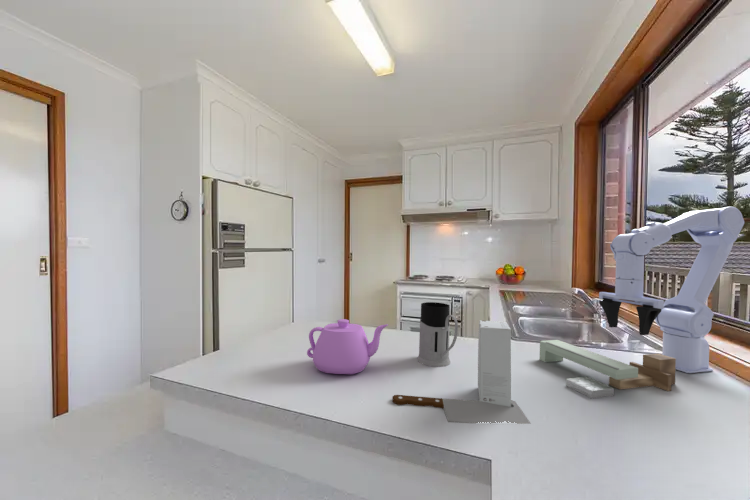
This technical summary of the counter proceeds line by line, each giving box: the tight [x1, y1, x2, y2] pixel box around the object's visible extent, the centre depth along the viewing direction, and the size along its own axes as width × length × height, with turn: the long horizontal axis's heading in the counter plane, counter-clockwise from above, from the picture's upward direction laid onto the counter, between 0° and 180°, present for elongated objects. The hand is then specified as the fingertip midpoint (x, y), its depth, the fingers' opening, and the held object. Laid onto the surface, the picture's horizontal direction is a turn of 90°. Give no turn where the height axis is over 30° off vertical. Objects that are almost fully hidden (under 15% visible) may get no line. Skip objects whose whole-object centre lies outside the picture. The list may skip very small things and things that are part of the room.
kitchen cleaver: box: [392, 394, 532, 425], centre depth 56 cm, size 24×1×10 cm
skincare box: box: [477, 319, 512, 407], centre depth 62 cm, size 8×6×15 cm
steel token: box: [565, 376, 615, 399], centre depth 66 cm, size 6×6×2 cm
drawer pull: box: [539, 339, 638, 379], centre depth 76 cm, size 6×21×6 cm, turn 15°
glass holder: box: [417, 301, 459, 368], centre depth 79 cm, size 9×14×15 cm, turn 21°
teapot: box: [306, 318, 389, 376], centre depth 75 cm, size 20×13×12 cm, turn 85°
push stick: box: [608, 353, 676, 392], centre depth 71 cm, size 16×8×6 cm, turn 105°
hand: (627, 330), depth 81 cm, fingers open, 7 cm apart
